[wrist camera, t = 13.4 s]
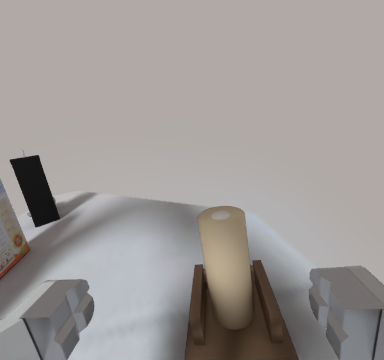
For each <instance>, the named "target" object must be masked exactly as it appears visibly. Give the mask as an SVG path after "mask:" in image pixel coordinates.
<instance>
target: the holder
mask: <svg viewBox="0 0 384 360" xmlns="http://www.w3.org/2000/svg"><path fill="white" fill-rule="evenodd" d="M250 271H251V281H252V291H253V301H254V312H255V314H254V318H253V320H252V322H251V323H250V324H249V325H248V326H246V327H245V328H242V329H238V330H231V329H227V328H225V327H223V326H221V325H220V324H219V323H218V322H217V321H216V320H215V318H214V316H213V312H212V305H211V299H210V293H209V287H208V281H207V275H206V269H203V264H201V265H195V268H194V278H193V285H192V295H191V304H190V314H189V323H188V333H187V342H186V352H185V360H298V357H297V354H296V351H295V349H294V346H293V343H292V341H291V338H290V336H289V333H288V330H287V328H286V325H285V322H284V320H283V317H282V315H281V312H280V309H279V307H278V304H277V302H276V299H275V296H274V294H273V291H272V288H271V286H270V283H269V281H268V278H267V275H266V273H265V270H264V268H263V265H262V262H261V260H255V261H253V265H252V266H250Z"/></svg>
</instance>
